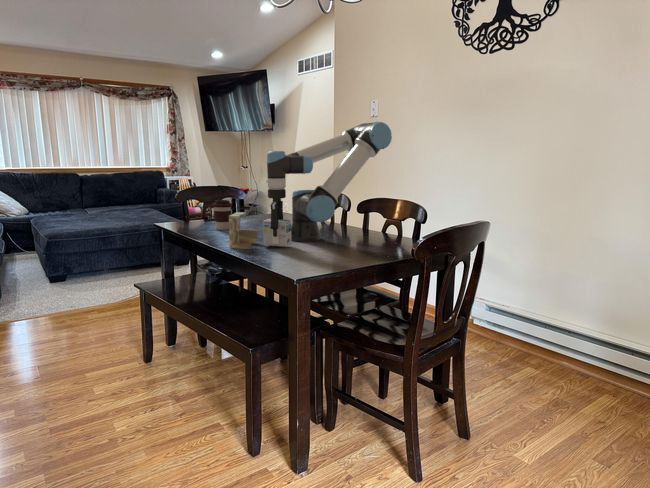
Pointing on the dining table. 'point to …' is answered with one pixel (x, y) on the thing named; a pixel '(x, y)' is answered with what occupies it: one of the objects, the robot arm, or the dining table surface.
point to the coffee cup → (222, 214)
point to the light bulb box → (284, 232)
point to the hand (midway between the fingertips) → (277, 242)
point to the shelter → (240, 233)
